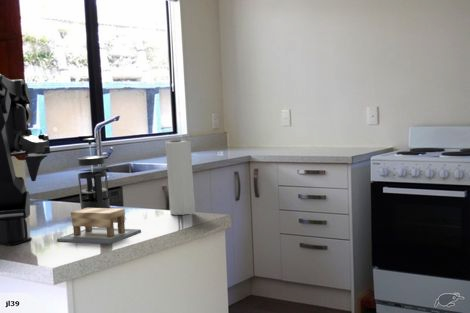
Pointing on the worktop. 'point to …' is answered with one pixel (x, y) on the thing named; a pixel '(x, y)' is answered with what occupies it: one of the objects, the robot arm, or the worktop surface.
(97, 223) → the oak stool
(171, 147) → the paper towel roll
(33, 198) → the worktop surface
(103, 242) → the charcoal mat
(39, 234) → the worktop surface
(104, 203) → the french press
